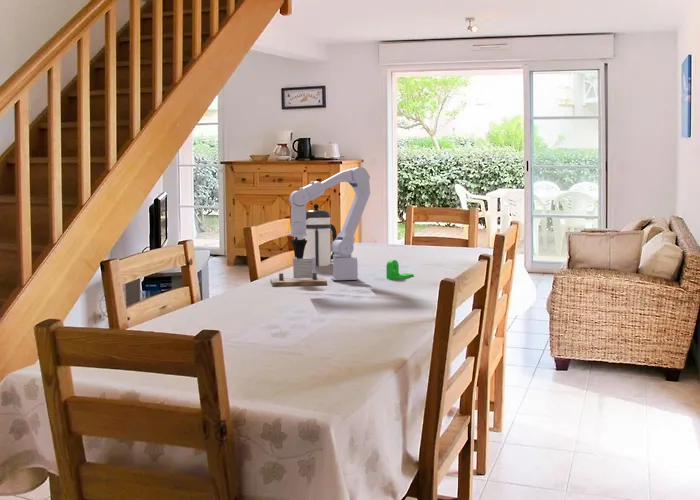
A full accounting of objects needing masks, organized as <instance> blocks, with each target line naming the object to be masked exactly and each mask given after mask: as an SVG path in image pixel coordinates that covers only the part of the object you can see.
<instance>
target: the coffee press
mask: <svg viewBox="0 0 700 500" xmlns="http://www.w3.org/2000/svg"><path fill="white" fill-rule="evenodd" d="M319 208H320V206H319V204H318V203H314V204H313V209H306V234H307V236H303V239H305V240H307V243H306V245H305V249H304V255H303V258H315V267H316V266H319V267H326V266H330V265H332V261H333V255H334V253H333V252H332V251H331V244H332V242H333V241H334V240H335V239H336V238H337V235H338V234H337V229H336V227H335V225H334V224H331V218H332V215H331V214H330V212H329V211H328V210H325V209H319ZM331 236H332V237H331Z"/></svg>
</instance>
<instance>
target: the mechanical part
mask: <svg viewBox="0 0 700 500" xmlns="http://www.w3.org/2000/svg"><path fill="white" fill-rule="evenodd" d="M399 270H400V267H399V262H398V261H397V260H396V259H389V260H388V261H387V263H386V279H388V280H395V281H402V280H405V279H408V278H412V277H414V274H413V273H406V272H402V273H400V271H399Z"/></svg>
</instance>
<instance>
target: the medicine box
mask: <svg viewBox="0 0 700 500" xmlns="http://www.w3.org/2000/svg"><path fill="white" fill-rule="evenodd" d="M292 260H293V261H292V262H293V265H292V267H293V269H292V271H293V278H313V273H316V266H315V258H303V259H297V257H293V259H292Z"/></svg>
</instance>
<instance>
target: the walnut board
mask: <svg viewBox="0 0 700 500" xmlns="http://www.w3.org/2000/svg"><path fill="white" fill-rule="evenodd" d="M269 280H270V281H269V282H270V285H271V286H272V288H273V287H275V288H276V287H303V286H305V287H306V286H308V287H309V286H328V281H327V280H326V279H325V278H324V277H323V276H321V277H318V273H317V272H315V273H313V278H294V277H286V278H285V277H284V273H282V272H281V273H278V278H269Z"/></svg>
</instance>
